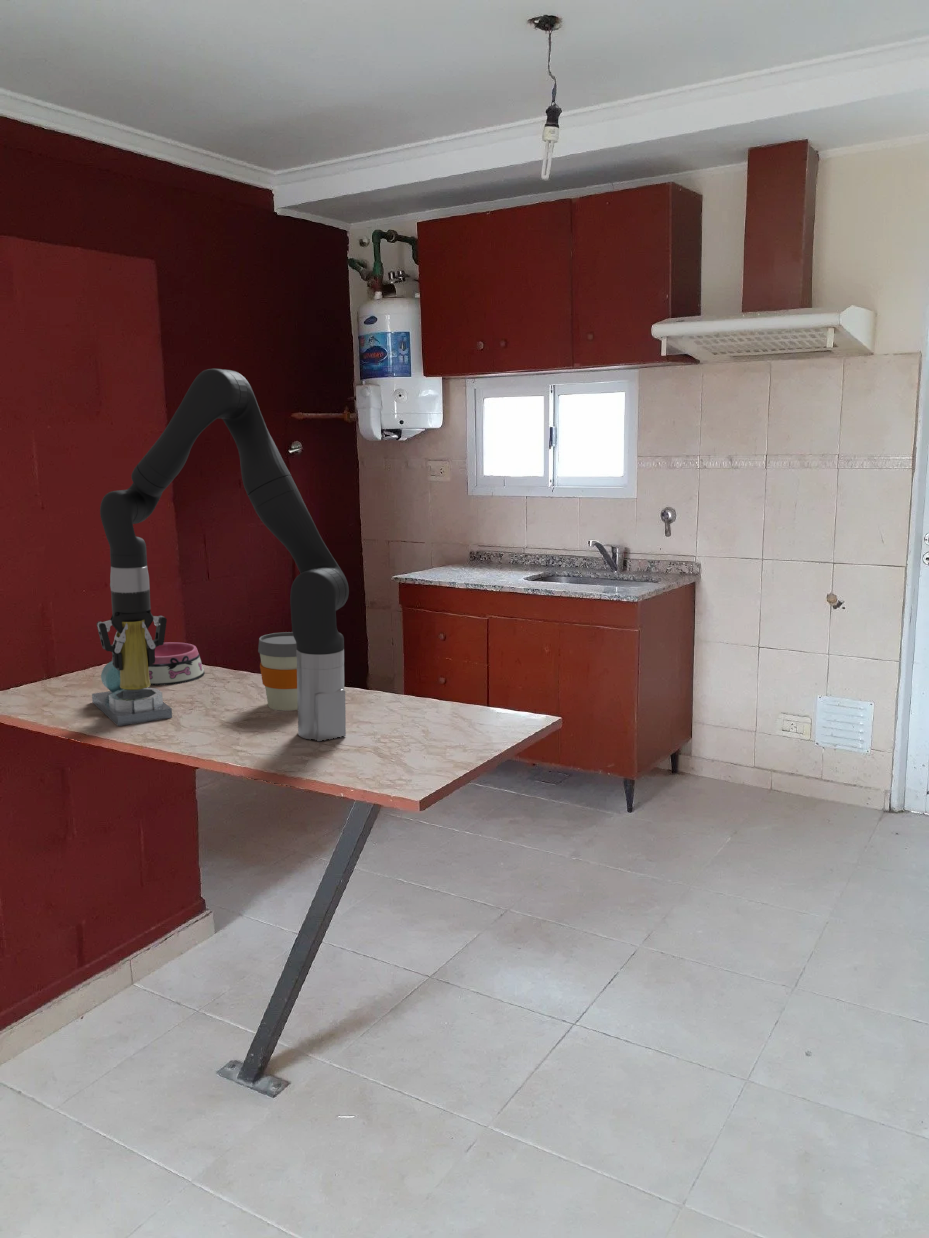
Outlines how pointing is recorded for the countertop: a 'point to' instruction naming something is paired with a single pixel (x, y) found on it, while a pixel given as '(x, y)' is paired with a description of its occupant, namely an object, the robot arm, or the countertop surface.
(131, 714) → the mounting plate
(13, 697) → the countertop surface
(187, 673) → the dog bowl
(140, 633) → the vase
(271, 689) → the reusable coffee cup
